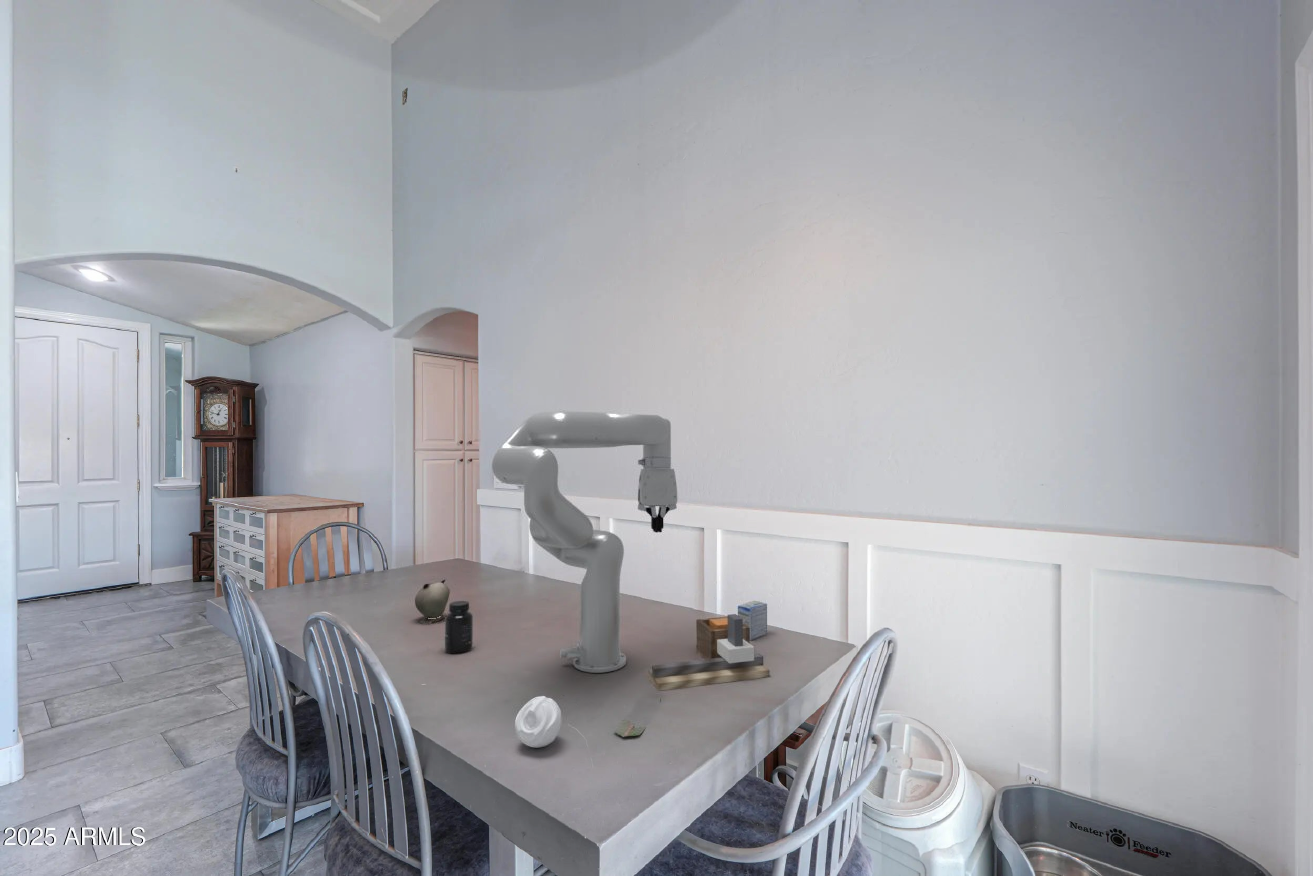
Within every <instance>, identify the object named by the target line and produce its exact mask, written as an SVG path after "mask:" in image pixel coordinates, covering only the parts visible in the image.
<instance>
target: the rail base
mask: <svg viewBox="0 0 1313 876" xmlns="http://www.w3.org/2000/svg"><path fill="white" fill-rule="evenodd" d="M647 675H648V678H649V679H650V680H651V682H652V684H653V686H654V687H656V689H657V691H658V692H660V691H661V692H662V691H667V690H675V689H684V688H685V689H686V688H692V687H698V686H699V687H700V686H707V685H715V684H723V683H730V682H738V681H739V682H740V681H745V680H753V679H760V678H761V679H762V678H770V677H771V675H770V669H769V668H768V667H766V665H764V656H763V655H762V654H761V653H759V652H758V653H754V661H745V662H737V663H728V662H727V661H726V660H725V659H724V658H715V659H706V660H705V659H699V660H689V661H681V662H673V663H672V662H671V663H664V664H655V665H652V666H651V669H648V674H647Z"/></svg>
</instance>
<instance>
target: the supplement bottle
mask: <svg viewBox="0 0 1313 876" xmlns="http://www.w3.org/2000/svg"><path fill="white" fill-rule="evenodd" d="M448 606H449V607H448V608H449V609H448V612H449V613H448V614H447V615H446V616H445V617H444V618H445V619H444V651H445V652H446V653H447V654H450V655H459V654H464V653H467V652H470V651H471V650H473V645H474V643H473V641H474V640H473V638H474V634H473V633H474V631H473V630H474V629H473V627H474V625H473V624H474V621H473V620H474V616H473V614H472V613H471V612H470V603H469V601H467V600H457V601H456V600H455V601H451V602H450V603H449V605H448Z"/></svg>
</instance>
